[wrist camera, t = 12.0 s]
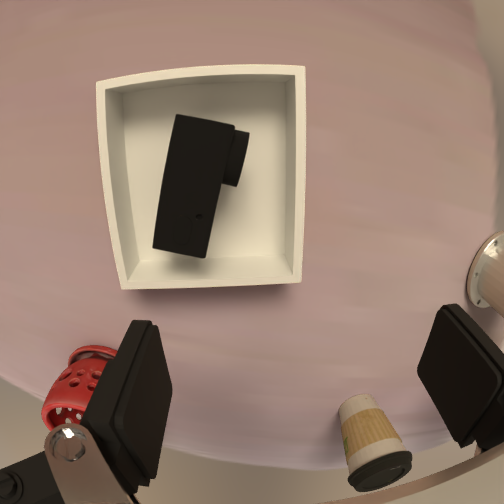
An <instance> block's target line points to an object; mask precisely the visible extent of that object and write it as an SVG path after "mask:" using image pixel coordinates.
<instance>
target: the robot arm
mask: <svg viewBox="0 0 504 504" xmlns="http://www.w3.org/2000/svg"><path fill="white" fill-rule="evenodd" d="M467 293H468V297H469V299H470V300H471V302H472V303H473V304H474V305H475V306H477V307H479V308H486V307H490V306H491V307H492V308H494V309H495V310H496V311H497V312H498V313H499V314H500V315H501V316H502V317H503V318H504V231H500V232H497V233H496V234H494V235H492V236H491V237H490V238H489V239H488V240H487V241H486V242H485V243H484V244H483V245H482V247H481V248H480V250H479V251H478V253H477V255H476V257H475V259H474V261H473V263H472V265H471V268H470V272H469V275H468V281H467ZM417 373H418V376H419V378H420V379H421V381H422V383H423V385H424V386H425V388H426V390H427V392H428V393H429V395H430V397H431V399H432V400H433V402H434V404H435V406H436V408H437V409H438V411H439V413H440V415H441V417H442V419H443V420H444V422H445V424H446V426H447V428H448V430H449V432H450V434H451V436H452V437H453V439H454V441H456V442H458V444H459V446H460V448H463V447H465V446H468V445H470V444H472V443H473V442H474V440H476V442H477V445H476V450H475V454H474V457H473V458H471V459H469V460H467V461H464V462H462V463H460V464H457V465H455V466H453V467H450V468H448V469H445V470H443V471H440V472H438V473H435V474H433V475H430V476H427V477H424V478H421V479H418V480H416V481H412V482H409V483H406V484H403V485H399V486H396V487H393V488H389V489H385V490H382V491H378V492H374V493H370V494H366V495H362V496H357V497H352V498H347V499H342V500H337V501H331V502H325V503H318V504H504V354H503V352H502V351H501V350H500V349H499V348H498V347H497V345H496V344H495V343H494V342H493V341H492V340H491V339H490V338H489V336H488V335H487V334H486V333H485V332H484V331H483V330H482V329H481V328H480V327H479V326H478V324H477V323H476V322H475V321H474V320H473V319H472V318H471V317H470V316H469V315H468V314H467V313H466V312H465V311H464V310H463V309H462V308H461V307H460V306H459V305H458V304H448V305H443V306H442V307H441V308H440V310H438V312H437V314H436V317H435V320H434V323H433V326H432V329H431V332H430V335H429V338H428V341H427V343H426V346H425V349H424V351H423V354H422V357H421V359H420V362H419V364H418V367H417ZM171 397H172V383H171V379H170V376H169V372H168V368H167V364H166V359H165V355H164V351H163V347H162V342H161V338H160V333H159V329H158V326H157V325H153V324H152V322H151V321H150V320H133V321H132V322H131V324H130V326H129V328H128V330H127V332H126V334H125V336H124V338H123V341H122V343H121V345H120V347H119V349H118V351H117V353H116V355H115V358H114V359H110V360H109V361H108V362H107V363H106V365H105V367H104V369H103V372H102V374H101V376H100V378H99V380H98V382H97V385H96V387H95V389H94V391H93V394H92V396H91V398H90V400H89V403H88V405H87V407H86V410H85V412H84V414H83V417H82V419H81V421H80V424H75V423H66V424H62V425H59V426H57V427H55V428H54V429H53V430H52V431H51V432H50V433H49V434H48V435H47V437H46V439H45V444H44V449H45V451H43V452H40V453H38V454H36V455H34V456H31V457H29V458H27V459H24V460H22V461H20V462H17V463H15V464H12V465H10V466H8V467H5V468H3V469H1V470H0V504H141V503H140V501H139V500H138V499H137V497H136V496H135V493H137V490H138V485H140V486H149V483H150V479H155V478H156V475H157V469H158V464H159V458H160V453H161V448H162V442H163V437H164V432H165V427H166V422H167V417H168V412H169V407H170V402H171Z"/></svg>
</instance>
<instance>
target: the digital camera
mask: <svg viewBox="0 0 504 504" xmlns="http://www.w3.org/2000/svg"><path fill="white" fill-rule="evenodd" d="M249 136H250V133H249V132H245V131H240V130H235V126H234V125H232V124H228V123H223V122H218V121H213V120H208V119H203V118H198V117H192V116H187V115H181V114H176V116H175V120H174V124H173V129H172V133H171V138H170V143H169V148H168V153H167V158H166V163H165V168H164V173H163V179H162V185H161V191H160V197H159V203H158V209H157V216H156V223H155V230H154V238H153V245H152V248H153V249H157V250H162V251H167V252H172V253H177V254H182V255H187V256H192V257H197V258H202V259H204V258H205V257H206V254H207V249H208V244H209V240H210V235H211V230H212V225H213V221H214V216H215V212H216V207H217V203H218V198H219V194H220V189H221V185H222V184H225V185H229V186H233V187H237V185H238V182H239V179H240V176H241V172H242V168H243V164H244V160H245V156H246V152H247V147H248V142H249Z"/></svg>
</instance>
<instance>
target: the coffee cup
mask: <svg viewBox="0 0 504 504" xmlns="http://www.w3.org/2000/svg"><path fill="white" fill-rule="evenodd" d="M339 415H340V421H341V426H342V427H341V431H342V437H343V443H344V449H345V455H346V461H347V465H348V467H349V474H350V476H349V477H348V482H349V484H350V485H351V486H353V487H354V488H355V490H356V491H358V492H368V491H373V490H377V489H380V488H382V487H385V486H387V485H390V484H392V483H394V482H395V481H397V480H399V479H400V478H402V477H403V476H405V475H406V474H407V473H408V472H409V471H410V470H411V467H412V465H411V461H412V454H411V452H409V451H406V449H405V448H404V446H403V444H402V440H401V439H400V437H399V436H398V434H397V433H396V431H395V429H394V428H393V426H392V425H391V423H390V422H389V420H388V418H387V417H386V415H385V414H384V412H383V411H382V410H381V409H380V408H379V406H378V405H377V403H376V402H375V400H374V398H373V397H372V396H371V395H369V394H360V395H356V396H354V397H351V398H349V399H348V400H346V401H345V402H344V403H343V404H342V405H341V406H340V408H339Z"/></svg>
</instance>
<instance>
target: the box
mask: <svg viewBox="0 0 504 504" xmlns="http://www.w3.org/2000/svg"><path fill="white" fill-rule="evenodd" d="M96 104H97V126H98V141H99V153H100V164H101V173H102V182H103V190H104V198H105V205H106V211H107V218H108V224H109V230H110V236H111V241H112V247H113V252H114V257H115V262H116V267H117V271H118V276H119V281H120V285H121V289H163V288H196V287H222V286H245V285H265V284H283V283H300V282H301V276H302V258H303V237H304V211H305V174H306V82H305V66H295V65H263V64H247V65H216V66H200V67H188V68H178V69H169V70H161V71H153V72H147V73H140V74H134V75H128V76H123V77H117V78H112V79H107V80H103V81H98V82H96ZM176 114H181V115H187V116H192V117H198V118H203V119H208V120H213V121H218V122H223V123H228V124H232V125H234V126H235V130H240V131H245V132H249V133H250V136H249V142H248V147H247V152H246V156H245V160H244V164H243V168H242V172H241V176H240V179H239V182H238V185H237V187H233V186H229V185H225V184H222V185H221V189H220V194H219V198H218V203H217V207H216V212H215V216H214V221H213V225H212V230H211V235H210V240H209V244H208V249H207V254H206V257H205V258H204V259H202V258H197V257H192V256H187V255H182V254H177V253H172V252H167V251H162V250H157V249H153V248H152V245H153V238H154V230H155V223H156V216H157V209H158V203H159V197H160V191H161V185H162V179H163V173H164V168H165V163H166V158H167V153H168V148H169V143H170V138H171V133H172V129H173V124H174V120H175V116H176Z"/></svg>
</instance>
